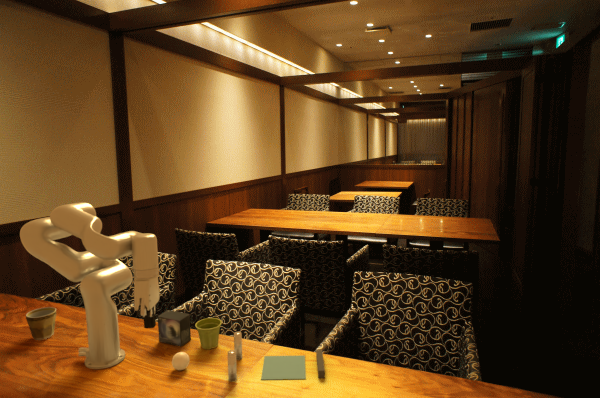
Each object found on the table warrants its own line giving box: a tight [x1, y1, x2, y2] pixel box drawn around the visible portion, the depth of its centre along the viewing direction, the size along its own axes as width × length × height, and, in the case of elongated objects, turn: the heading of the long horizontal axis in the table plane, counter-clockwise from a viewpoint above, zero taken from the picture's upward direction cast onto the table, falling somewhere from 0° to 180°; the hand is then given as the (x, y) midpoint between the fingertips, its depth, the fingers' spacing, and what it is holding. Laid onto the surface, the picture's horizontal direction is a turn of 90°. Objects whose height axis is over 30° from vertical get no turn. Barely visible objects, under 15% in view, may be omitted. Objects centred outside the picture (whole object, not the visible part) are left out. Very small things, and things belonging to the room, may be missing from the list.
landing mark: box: [260, 355, 307, 381], centre depth 131 cm, size 14×14×1 cm
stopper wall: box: [315, 349, 326, 379], centre depth 131 cm, size 2×13×2 cm, turn 1°
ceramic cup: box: [25, 306, 57, 341], centre depth 155 cm, size 13×10×10 cm
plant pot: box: [194, 317, 223, 350], centre depth 146 cm, size 9×9×9 cm
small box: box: [157, 309, 192, 348], centre depth 150 cm, size 11×6×10 cm, turn 68°
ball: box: [171, 351, 191, 371], centre depth 131 cm, size 6×6×6 cm
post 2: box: [233, 331, 243, 361], centre depth 137 cm, size 3×3×9 cm
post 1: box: [227, 349, 238, 383], centre depth 124 cm, size 3×3×9 cm
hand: (150, 327), depth 129 cm, fingers closed
